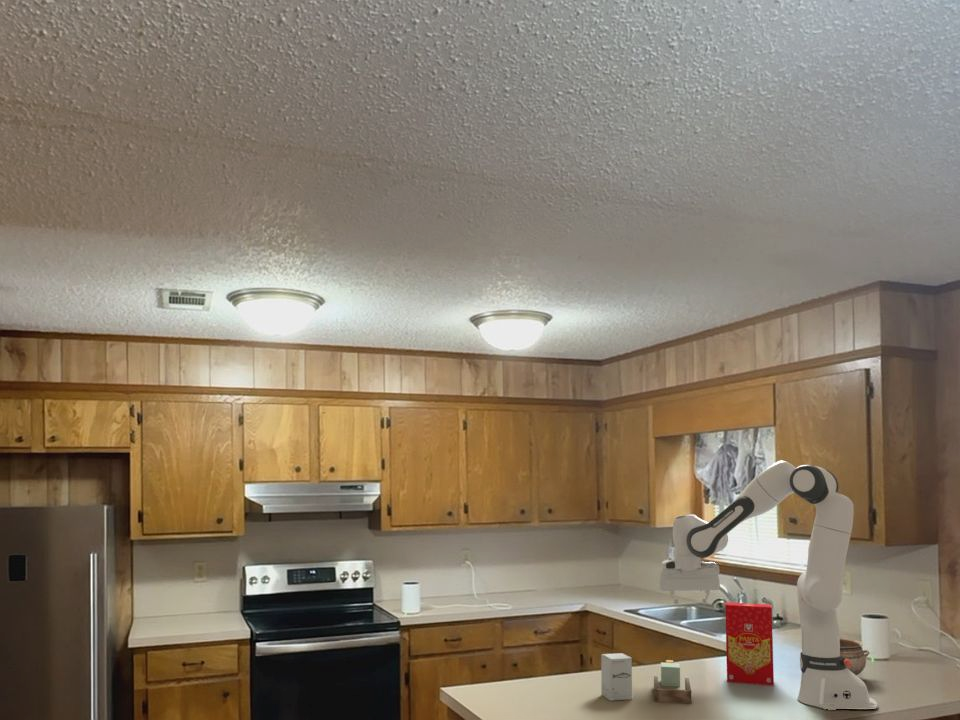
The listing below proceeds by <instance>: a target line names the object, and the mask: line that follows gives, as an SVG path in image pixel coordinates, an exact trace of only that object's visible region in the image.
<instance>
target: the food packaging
mask: <svg viewBox="0 0 960 720" xmlns="http://www.w3.org/2000/svg"><path fill="white" fill-rule="evenodd" d="M772 608H773V607H772V604H765V603H746V602H745V603H744V602H743V603H742V602H729V601H726V602H725V644H726V647H725V648H726V653H725V655H726V683H737V684H747V685H748V684H749V685H761V686H772V687H773V686H774V685H775V684H774V680H775V679H774V676H775V675H774V674H775V673H774V647H773V646H774V645H773V644H774V643H773V642H774V641H773V638H774V637H773V609H772Z"/></svg>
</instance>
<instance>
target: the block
mask: <svg viewBox="0 0 960 720" xmlns="http://www.w3.org/2000/svg"><path fill="white" fill-rule="evenodd" d="M680 667H681V666H680V663H679V662H674V660H671V659H666V660H665V662H662V661H661V662H660V676H661V677H660V678H661V679H660V681H661V683H660V686H664V687H665V686H667V687H681V668H680Z"/></svg>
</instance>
